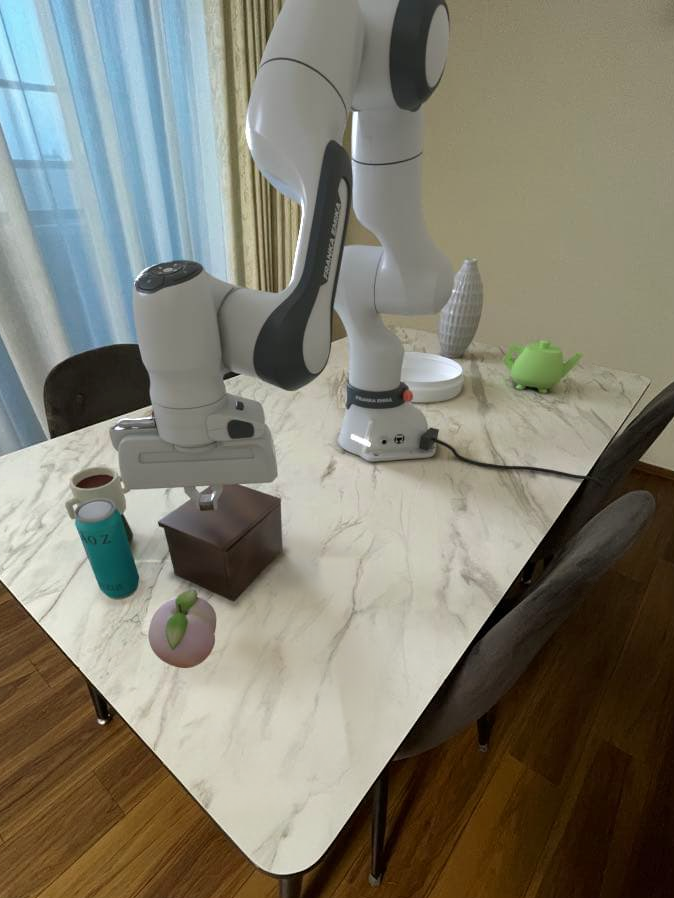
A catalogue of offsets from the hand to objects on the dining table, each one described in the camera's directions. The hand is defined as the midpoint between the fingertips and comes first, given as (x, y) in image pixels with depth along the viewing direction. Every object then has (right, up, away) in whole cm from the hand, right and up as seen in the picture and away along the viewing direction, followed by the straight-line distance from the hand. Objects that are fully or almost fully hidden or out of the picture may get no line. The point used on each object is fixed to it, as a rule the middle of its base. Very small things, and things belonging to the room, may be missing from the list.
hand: (207, 508), depth 66 cm
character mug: (-19, -5, +14) cm, 24 cm away
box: (+2, -8, +10) cm, 13 cm away
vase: (+63, +58, +93) cm, 127 cm away
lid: (+1, -1, +4) cm, 4 cm away
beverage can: (-14, -12, +5) cm, 20 cm away
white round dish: (+45, +41, +72) cm, 94 cm away
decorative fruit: (-2, -20, -4) cm, 20 cm away
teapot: (+80, +41, +72) cm, 115 cm away
